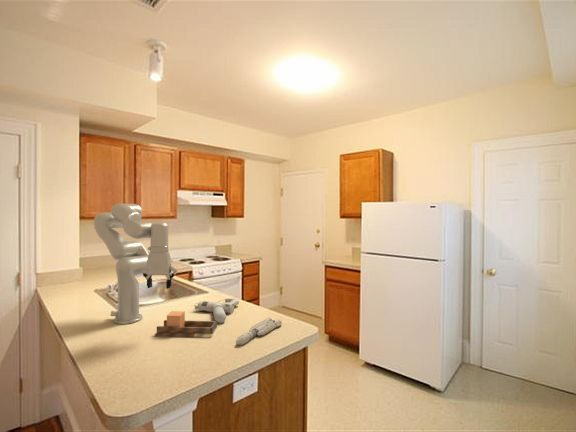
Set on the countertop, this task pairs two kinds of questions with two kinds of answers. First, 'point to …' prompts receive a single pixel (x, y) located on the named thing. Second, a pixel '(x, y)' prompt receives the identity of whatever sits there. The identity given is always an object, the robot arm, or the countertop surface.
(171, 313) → the block
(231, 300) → the gun
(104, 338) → the countertop surface
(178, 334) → the chute
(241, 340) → the rocket model
